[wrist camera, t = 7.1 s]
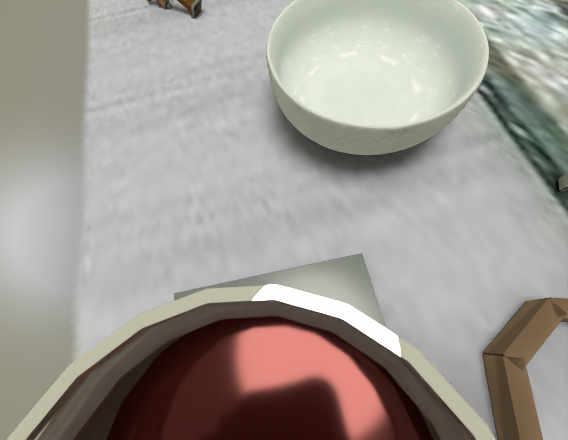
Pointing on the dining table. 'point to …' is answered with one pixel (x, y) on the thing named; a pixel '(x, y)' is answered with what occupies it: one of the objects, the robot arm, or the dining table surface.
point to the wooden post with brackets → (192, 3)
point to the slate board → (320, 283)
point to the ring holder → (519, 366)
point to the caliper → (563, 183)
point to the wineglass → (252, 377)
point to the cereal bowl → (374, 70)
